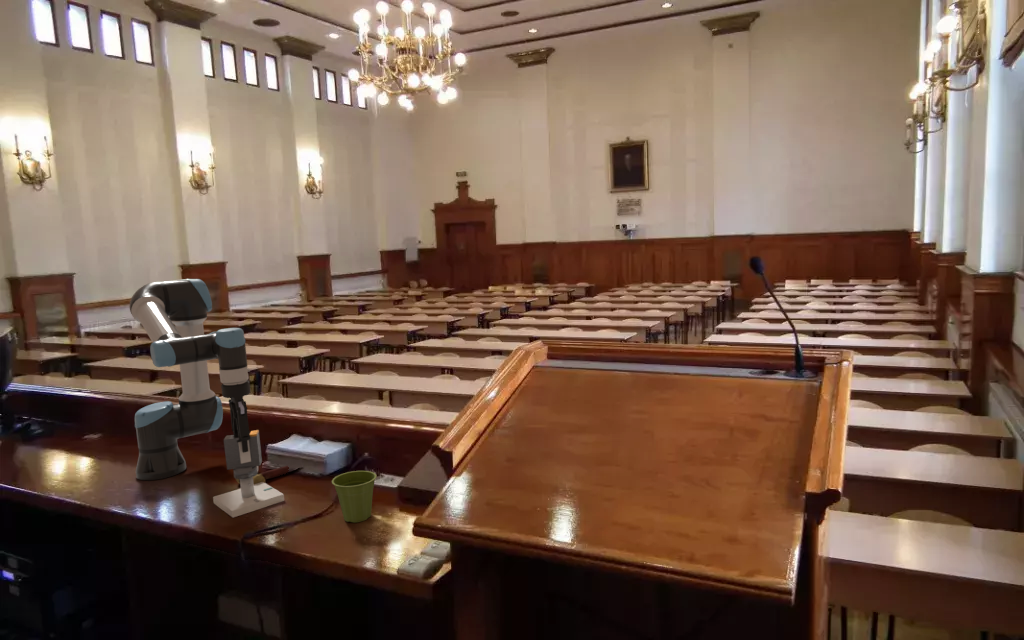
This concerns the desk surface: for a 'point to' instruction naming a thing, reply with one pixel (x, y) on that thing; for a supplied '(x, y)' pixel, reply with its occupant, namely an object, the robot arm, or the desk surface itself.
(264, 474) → the gavel
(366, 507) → the plant pot
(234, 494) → the base
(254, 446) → the grey block orange cap
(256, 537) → the desk surface
